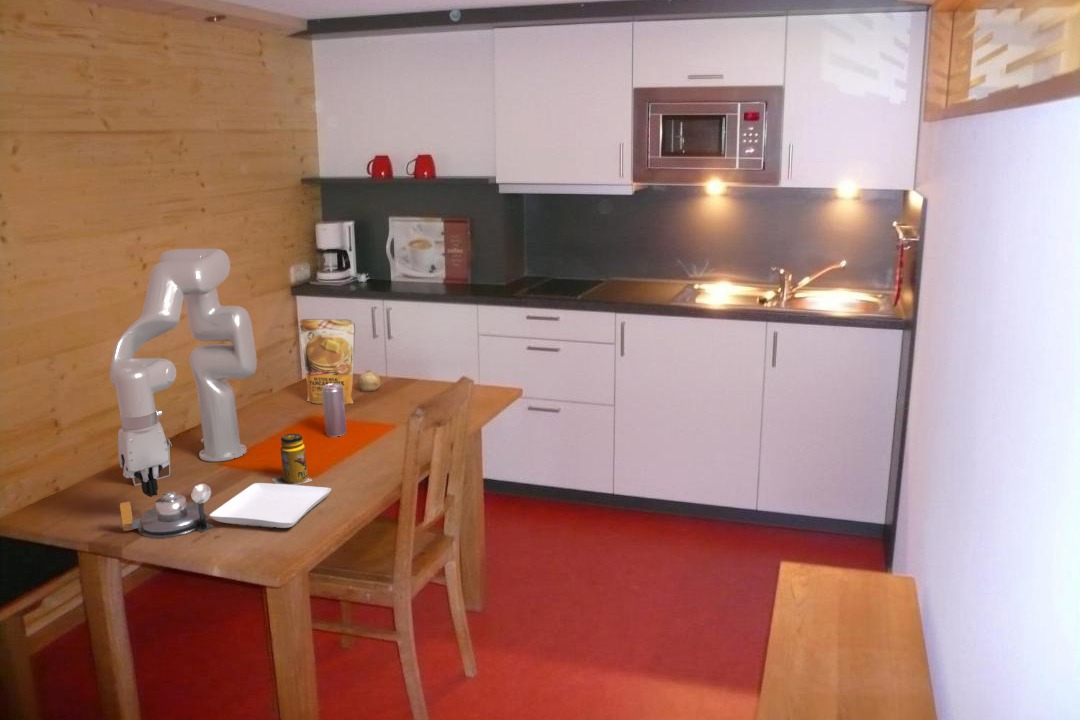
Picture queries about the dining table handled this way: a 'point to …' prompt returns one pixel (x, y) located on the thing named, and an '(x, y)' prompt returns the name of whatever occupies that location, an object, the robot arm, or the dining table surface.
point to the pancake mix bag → (327, 355)
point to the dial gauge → (201, 504)
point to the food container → (163, 473)
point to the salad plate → (270, 505)
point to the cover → (171, 507)
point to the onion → (369, 381)
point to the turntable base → (169, 534)
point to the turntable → (154, 526)
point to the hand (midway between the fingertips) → (150, 494)
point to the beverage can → (334, 409)
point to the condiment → (293, 461)
